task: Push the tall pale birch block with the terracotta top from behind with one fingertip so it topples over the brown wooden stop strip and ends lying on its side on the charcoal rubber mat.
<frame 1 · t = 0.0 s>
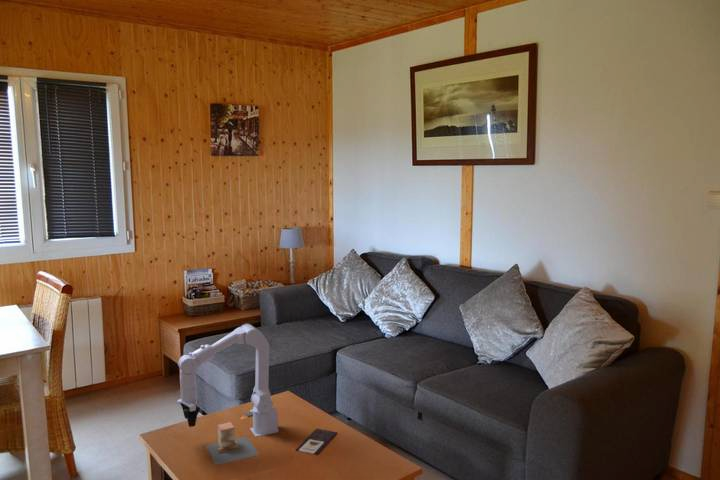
hand: (190, 422, 215), 10 cm above the table, tool pointing down, fingers open, 7 cm apart
rubber mat: (232, 451, 213), on the table
chocolate bar: (317, 443, 220), on the table
stop strip: (228, 449, 213), resting on rubber mat
birch block: (226, 446, 216), resting on rubber mat
key chain: (246, 418, 242), on the table
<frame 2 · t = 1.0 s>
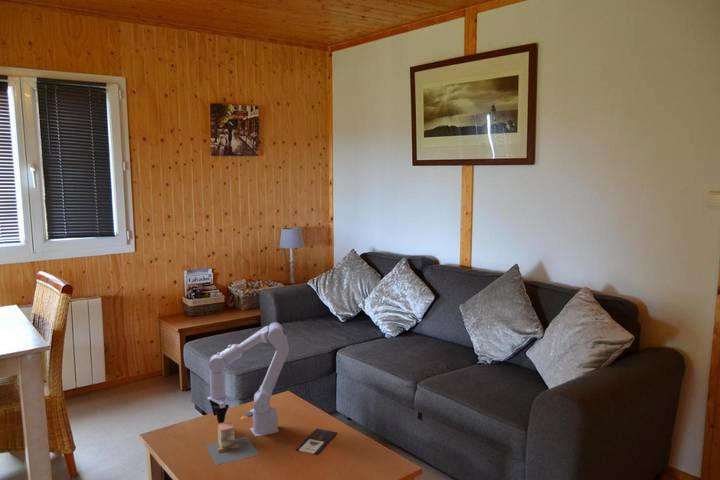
hand: (218, 418, 225), 7 cm above the table, tool pointing down, fingers open, 7 cm apart
nothing on the table moved.
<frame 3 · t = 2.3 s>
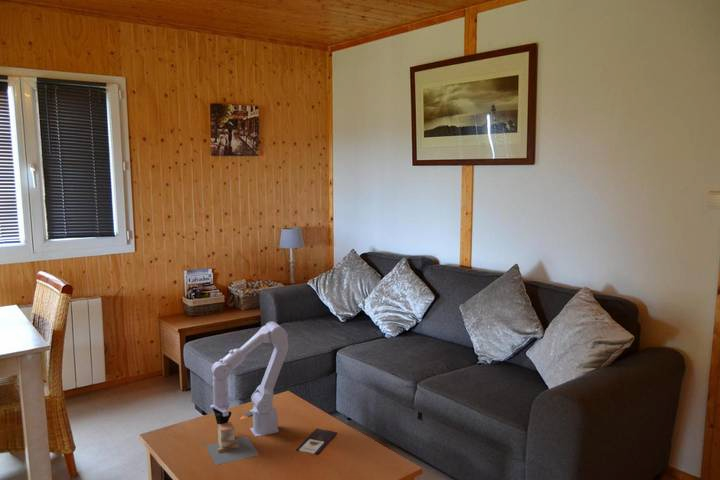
hand: (221, 426, 221), 5 cm above the table, tool pointing down, fingers open, 5 cm apart
birch block: (226, 445, 216), resting on rubber mat, touching gripper
everything else where it was.
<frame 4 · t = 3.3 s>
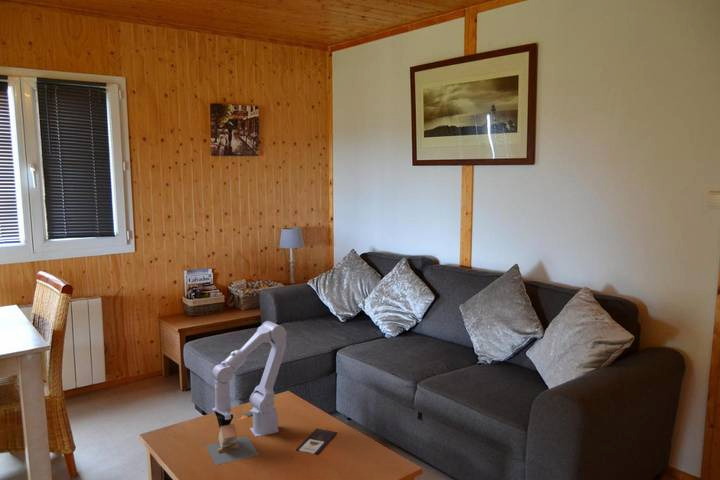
hand: (224, 430, 218), 5 cm above the table, tool pointing down, fingers open, 4 cm apart
birch block: (226, 442, 216), point 2 cm above the table, tilted 35°, touching gripper, stop strip
everything else where it was.
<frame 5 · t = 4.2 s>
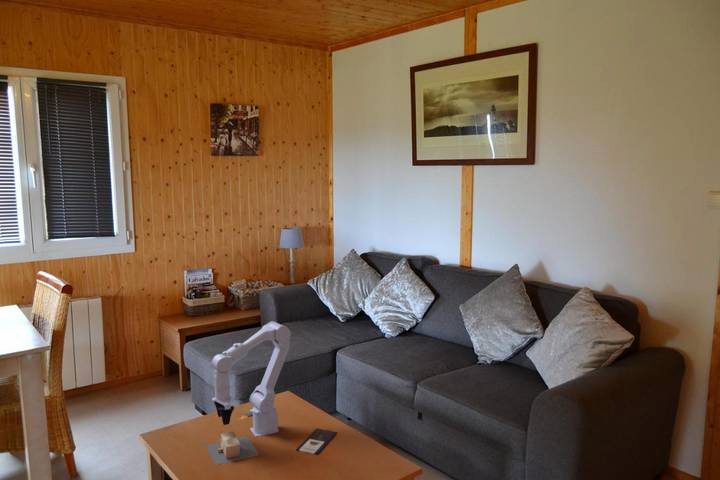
hand: (223, 420, 218), 9 cm above the table, tool pointing down, fingers open, 7 cm apart
birch block: (227, 437, 214), point 5 cm above the table, tilted 103°, touching rubber mat, stop strip
everything else where it was.
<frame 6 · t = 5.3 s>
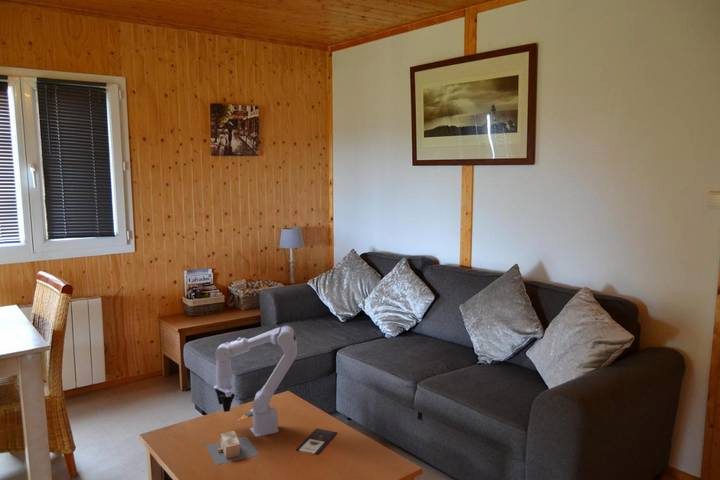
hand: (224, 407, 227), 10 cm above the table, tool pointing down, fingers open, 7 cm apart
nothing on the table moved.
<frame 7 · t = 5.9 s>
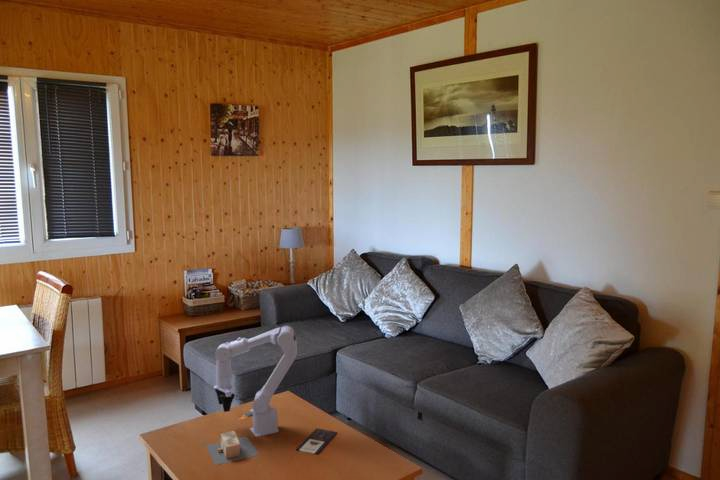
hand: (224, 407, 227), 10 cm above the table, tool pointing down, fingers open, 7 cm apart
nothing on the table moved.
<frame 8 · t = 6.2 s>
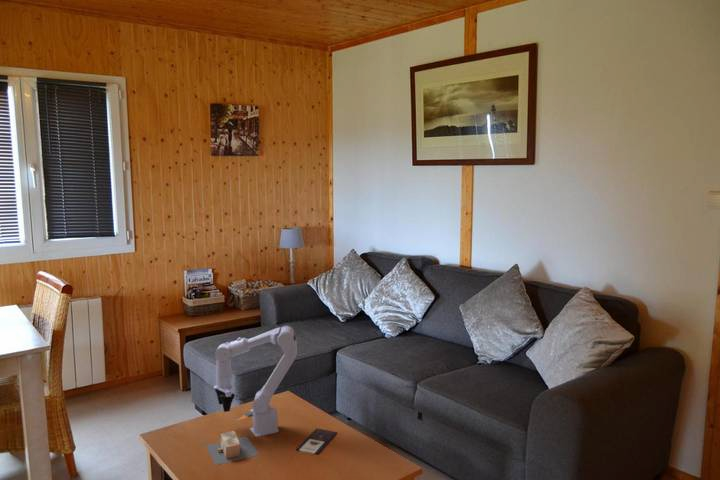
hand: (224, 407, 227), 10 cm above the table, tool pointing down, fingers open, 7 cm apart
nothing on the table moved.
at the end: birch block tilted 103°; birch block inside the target area (2.3 cm from its centre), point 4.6 cm above the table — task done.
